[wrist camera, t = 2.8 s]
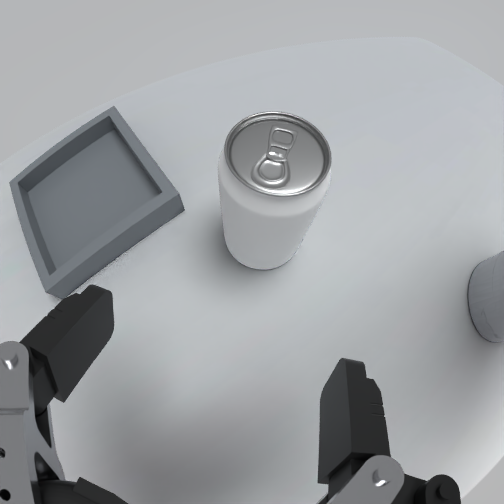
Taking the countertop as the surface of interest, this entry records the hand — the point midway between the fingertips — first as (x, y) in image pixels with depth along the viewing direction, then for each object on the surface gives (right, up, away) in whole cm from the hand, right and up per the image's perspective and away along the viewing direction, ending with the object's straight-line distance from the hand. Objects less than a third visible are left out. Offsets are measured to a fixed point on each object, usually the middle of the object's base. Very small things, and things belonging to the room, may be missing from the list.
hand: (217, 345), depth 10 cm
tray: (-15, +8, +17) cm, 24 cm away
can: (+2, +5, +17) cm, 18 cm away
